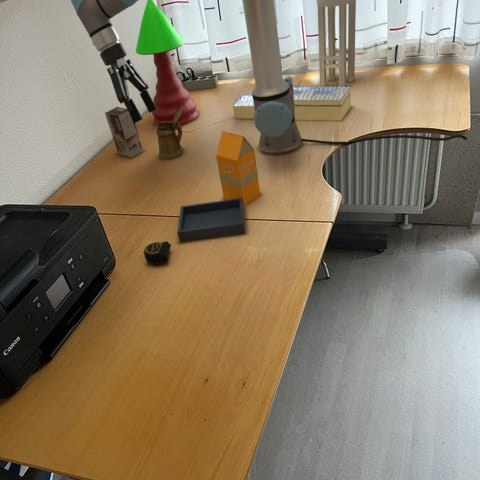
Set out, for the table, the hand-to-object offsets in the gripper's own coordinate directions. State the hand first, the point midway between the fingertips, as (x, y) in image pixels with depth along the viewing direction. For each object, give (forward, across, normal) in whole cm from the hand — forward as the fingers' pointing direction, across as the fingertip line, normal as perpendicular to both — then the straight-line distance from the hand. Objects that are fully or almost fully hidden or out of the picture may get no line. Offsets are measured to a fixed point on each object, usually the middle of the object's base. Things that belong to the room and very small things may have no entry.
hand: (146, 116), depth 154 cm
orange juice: (+32, +13, +22) cm, 41 cm away
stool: (+28, -83, +52) cm, 102 cm away
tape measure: (+31, +44, +4) cm, 54 cm away
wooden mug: (+18, -21, -6) cm, 28 cm away
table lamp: (+9, -58, -14) cm, 60 cm away
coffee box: (+10, -26, -25) cm, 37 cm away
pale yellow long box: (+26, -53, +34) cm, 68 cm away
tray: (+32, +28, +15) cm, 46 cm away
